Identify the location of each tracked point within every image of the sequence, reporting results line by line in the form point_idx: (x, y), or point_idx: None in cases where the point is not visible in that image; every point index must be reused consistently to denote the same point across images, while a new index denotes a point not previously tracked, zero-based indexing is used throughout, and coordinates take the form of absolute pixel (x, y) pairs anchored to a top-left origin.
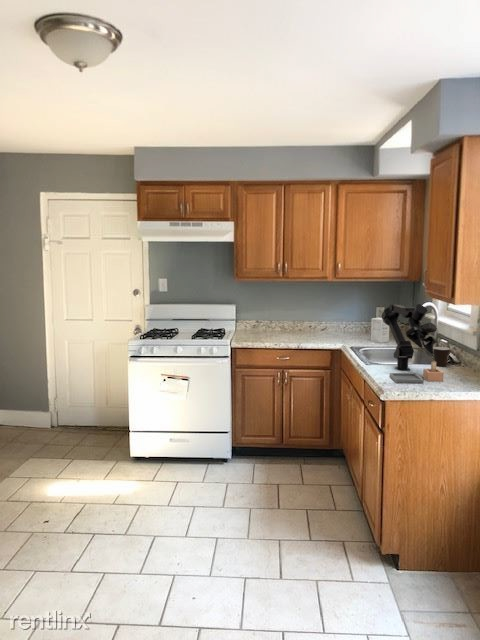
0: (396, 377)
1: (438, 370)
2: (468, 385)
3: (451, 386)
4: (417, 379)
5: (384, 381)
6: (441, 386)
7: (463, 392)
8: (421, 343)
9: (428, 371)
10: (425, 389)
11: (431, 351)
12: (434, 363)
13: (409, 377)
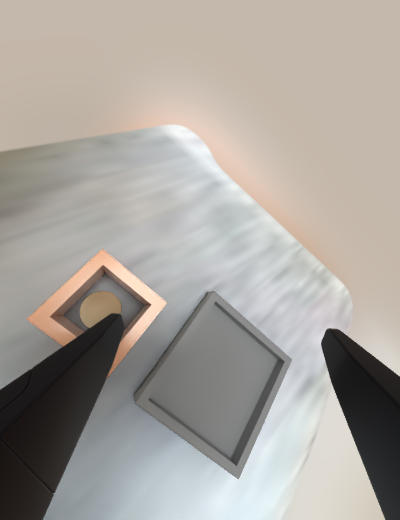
0: (238, 414)
1: (72, 294)
2: (85, 159)
3: (157, 202)
4: (231, 308)
5: (294, 404)
6: (187, 227)
7: (196, 150)
8: (368, 361)
9: (147, 315)
10: (259, 246)
11: (112, 338)
12: (115, 297)
13: (192, 381)
